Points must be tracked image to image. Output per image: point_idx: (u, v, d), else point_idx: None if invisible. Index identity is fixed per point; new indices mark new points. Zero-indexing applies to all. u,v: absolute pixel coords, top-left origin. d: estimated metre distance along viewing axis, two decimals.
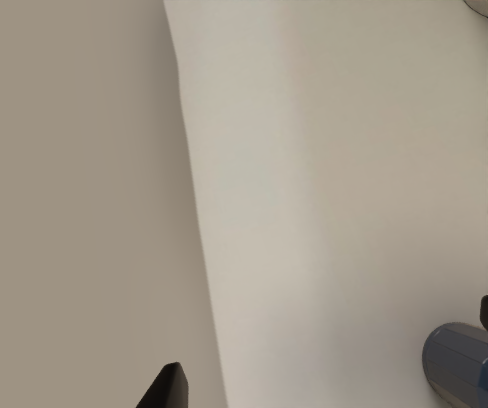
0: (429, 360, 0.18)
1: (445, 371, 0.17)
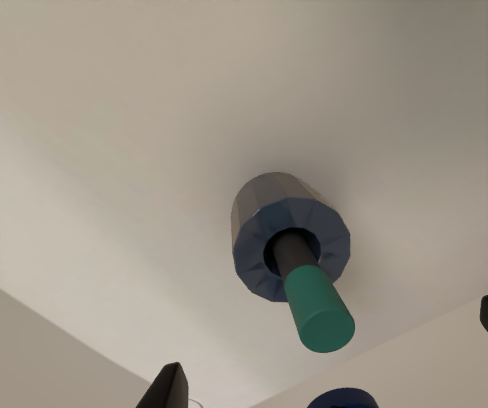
0: None
1: None
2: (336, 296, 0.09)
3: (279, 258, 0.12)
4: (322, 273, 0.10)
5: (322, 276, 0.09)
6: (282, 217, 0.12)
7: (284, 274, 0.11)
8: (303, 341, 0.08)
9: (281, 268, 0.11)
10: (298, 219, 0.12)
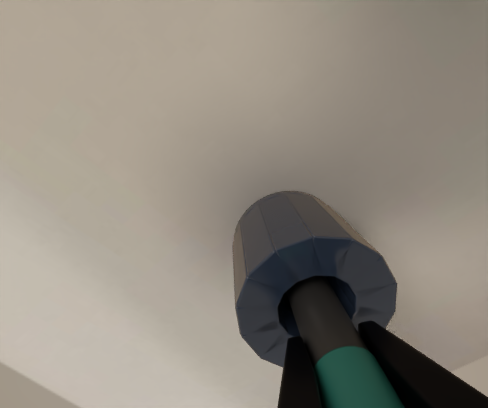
0: None
1: None
2: None
3: (301, 322, 0.08)
4: (373, 363, 0.06)
5: (375, 371, 0.06)
6: (305, 263, 0.08)
7: (311, 354, 0.07)
8: None
9: (305, 340, 0.08)
10: (327, 265, 0.09)
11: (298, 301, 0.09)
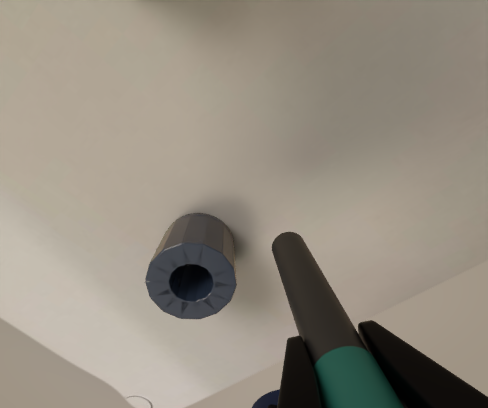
0: None
1: None
2: None
3: (300, 322, 0.08)
4: (372, 363, 0.06)
5: (374, 371, 0.06)
6: (180, 256, 0.16)
7: (311, 354, 0.07)
8: None
9: (304, 340, 0.08)
10: (192, 258, 0.16)
11: (297, 301, 0.09)
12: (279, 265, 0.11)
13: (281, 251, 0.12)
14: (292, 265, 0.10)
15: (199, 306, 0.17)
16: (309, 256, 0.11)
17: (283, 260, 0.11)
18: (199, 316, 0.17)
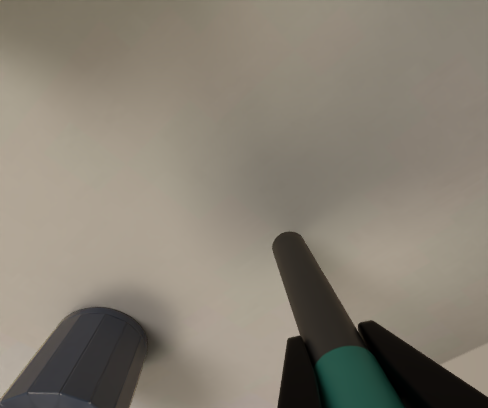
0: None
1: None
2: None
3: (301, 322, 0.08)
4: (373, 362, 0.06)
5: (375, 371, 0.06)
6: None
7: (311, 354, 0.07)
8: None
9: (305, 340, 0.08)
10: None
11: (298, 301, 0.09)
12: (279, 265, 0.11)
13: (281, 251, 0.12)
14: (292, 264, 0.10)
15: None
16: (309, 256, 0.11)
17: (283, 259, 0.11)
18: None
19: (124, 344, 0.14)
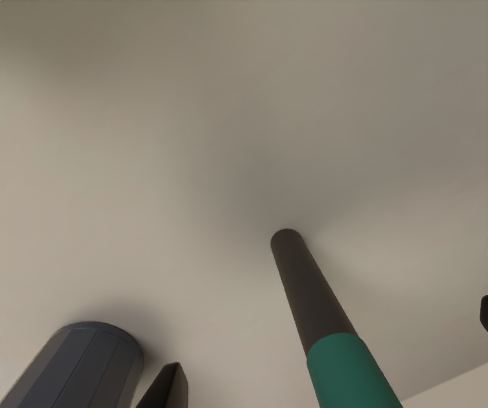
0: None
1: None
2: (392, 398, 0.06)
3: (296, 312, 0.09)
4: (362, 348, 0.07)
5: (364, 355, 0.07)
6: None
7: (306, 341, 0.08)
8: None
9: (300, 329, 0.08)
10: None
11: (294, 293, 0.09)
12: (277, 260, 0.12)
13: (279, 247, 0.12)
14: (289, 259, 0.11)
15: None
16: (306, 251, 0.12)
17: (281, 255, 0.12)
18: None
19: (117, 362, 0.13)
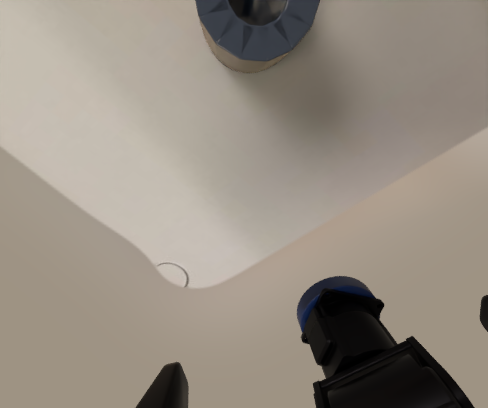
0: (206, 39, 0.16)
1: (205, 34, 0.14)
2: None
3: None
4: None
5: None
6: None
7: None
8: None
9: None
10: None
11: None
12: None
13: None
14: None
15: (268, 35, 0.12)
16: None
17: None
18: (267, 55, 0.12)
19: None
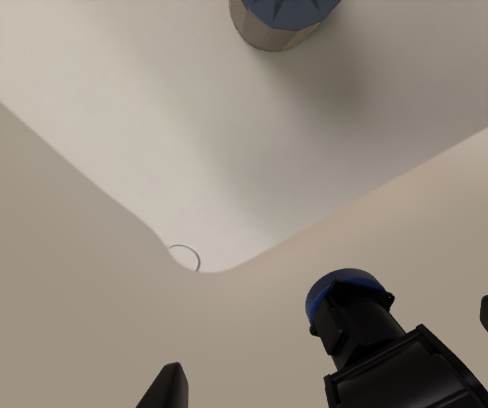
0: (232, 14, 0.16)
1: (233, 6, 0.14)
2: None
3: None
4: None
5: None
6: None
7: None
8: None
9: None
10: None
11: None
12: None
13: None
14: None
15: (300, 4, 0.12)
16: None
17: None
18: (298, 24, 0.12)
19: None
